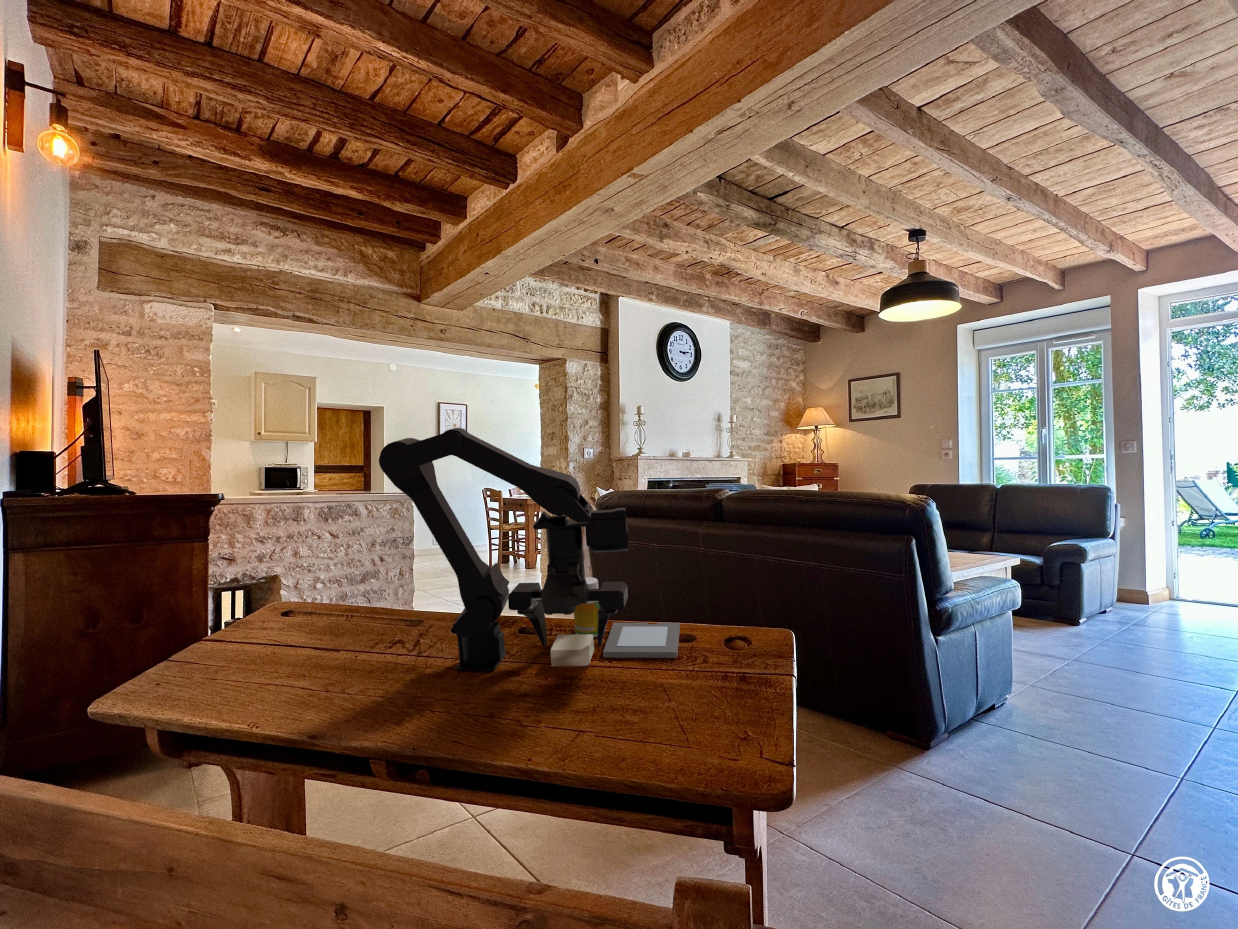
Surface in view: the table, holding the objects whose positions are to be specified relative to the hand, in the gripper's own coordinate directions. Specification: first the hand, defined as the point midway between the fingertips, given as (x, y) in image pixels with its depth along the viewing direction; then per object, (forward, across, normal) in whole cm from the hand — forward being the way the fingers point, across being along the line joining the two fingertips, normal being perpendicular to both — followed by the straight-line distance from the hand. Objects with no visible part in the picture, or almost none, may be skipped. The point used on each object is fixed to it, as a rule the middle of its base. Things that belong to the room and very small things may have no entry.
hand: (572, 645), depth 102 cm
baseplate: (+2, +11, +6) cm, 13 cm away
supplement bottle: (+2, +1, +10) cm, 10 cm away
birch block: (+2, 0, 0) cm, 2 cm away
